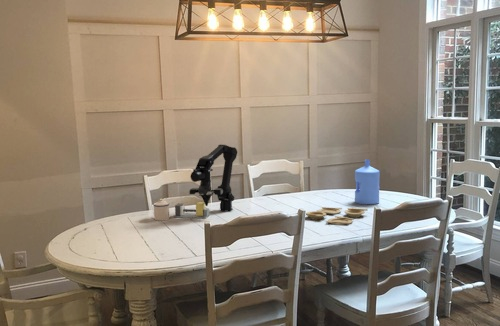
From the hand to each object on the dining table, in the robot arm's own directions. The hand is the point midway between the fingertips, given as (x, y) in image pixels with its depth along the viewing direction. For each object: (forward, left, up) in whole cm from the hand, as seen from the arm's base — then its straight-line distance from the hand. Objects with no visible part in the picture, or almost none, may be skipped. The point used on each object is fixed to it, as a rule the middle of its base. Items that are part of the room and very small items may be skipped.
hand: (206, 205), depth 272 cm
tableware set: (-73, -9, -7) cm, 74 cm away
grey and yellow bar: (+8, 0, -6) cm, 11 cm away
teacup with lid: (+26, +7, -7) cm, 28 cm away
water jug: (-93, -52, -7) cm, 107 cm away
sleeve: (+4, 0, -5) cm, 7 cm away
